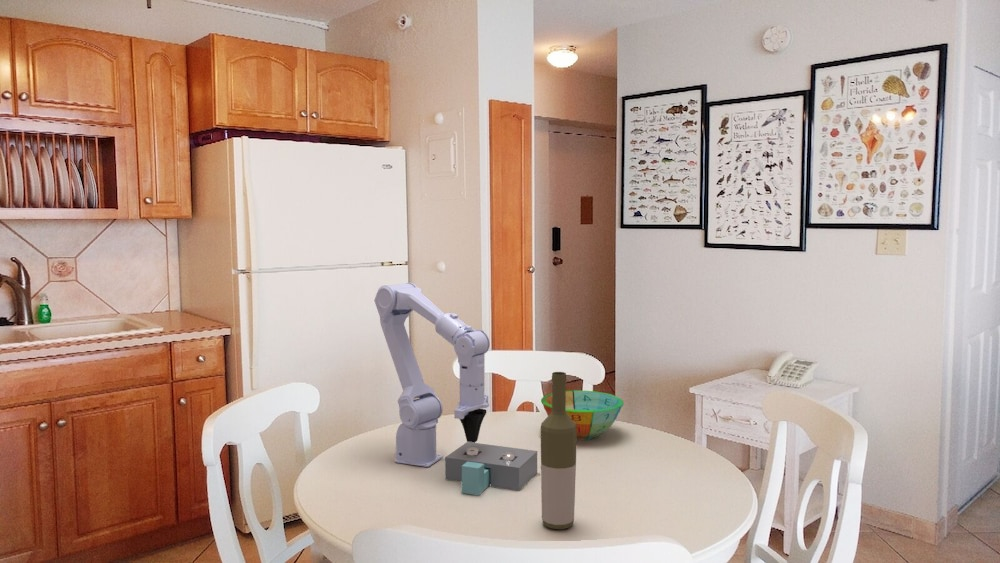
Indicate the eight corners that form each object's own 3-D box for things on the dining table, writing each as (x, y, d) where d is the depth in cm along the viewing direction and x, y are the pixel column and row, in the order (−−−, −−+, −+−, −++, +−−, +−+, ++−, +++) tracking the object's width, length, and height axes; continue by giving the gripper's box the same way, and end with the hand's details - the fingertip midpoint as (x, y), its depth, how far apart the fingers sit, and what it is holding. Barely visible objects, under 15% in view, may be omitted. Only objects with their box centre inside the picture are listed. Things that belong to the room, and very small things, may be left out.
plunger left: (464, 461, 164) (464, 450, 164) (469, 457, 167) (469, 446, 167) (475, 462, 163) (475, 451, 163) (480, 459, 166) (480, 448, 166)
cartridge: (461, 492, 154) (461, 465, 154) (489, 469, 168) (489, 445, 168) (478, 495, 153) (478, 468, 152) (504, 472, 167) (504, 447, 166)
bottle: (542, 515, 143) (543, 368, 140) (577, 518, 142) (579, 370, 139) (537, 530, 136) (538, 376, 133) (573, 534, 135) (575, 378, 132)
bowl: (629, 449, 183) (630, 411, 183) (542, 449, 184) (542, 411, 183) (616, 424, 206) (617, 390, 205) (539, 423, 206) (539, 389, 205)
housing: (445, 479, 163) (445, 457, 162) (467, 462, 174) (467, 441, 173) (519, 490, 156) (519, 467, 155) (537, 472, 167) (537, 451, 166)
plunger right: (500, 466, 161) (500, 455, 161) (505, 462, 164) (505, 451, 163) (511, 468, 160) (511, 456, 160) (516, 464, 163) (516, 453, 162)
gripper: (474, 392, 155) (474, 453, 157) (500, 378, 169) (499, 434, 170) (445, 389, 158) (446, 449, 159) (472, 375, 171) (472, 430, 173)
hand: (472, 441), depth 165 cm, fingers closed
